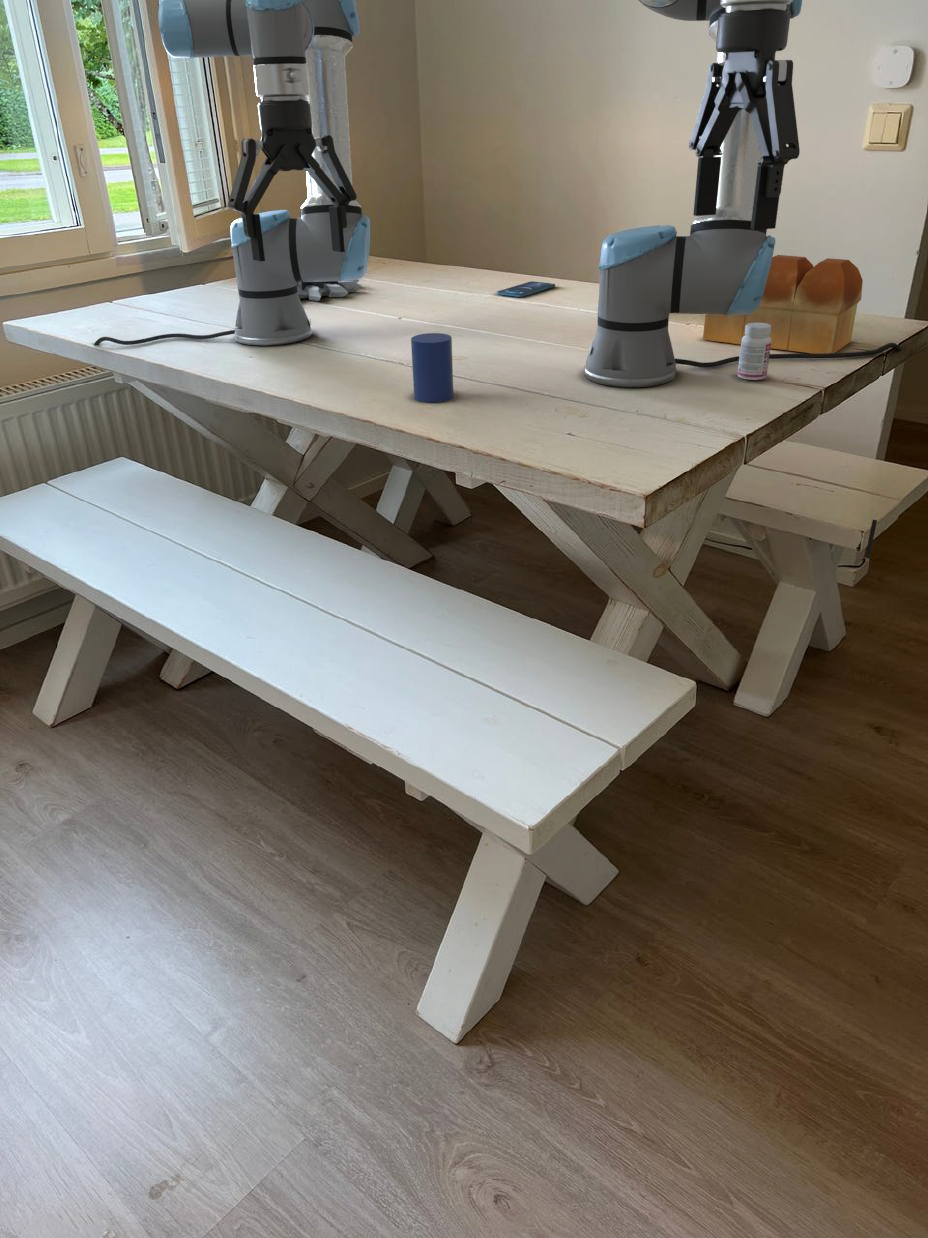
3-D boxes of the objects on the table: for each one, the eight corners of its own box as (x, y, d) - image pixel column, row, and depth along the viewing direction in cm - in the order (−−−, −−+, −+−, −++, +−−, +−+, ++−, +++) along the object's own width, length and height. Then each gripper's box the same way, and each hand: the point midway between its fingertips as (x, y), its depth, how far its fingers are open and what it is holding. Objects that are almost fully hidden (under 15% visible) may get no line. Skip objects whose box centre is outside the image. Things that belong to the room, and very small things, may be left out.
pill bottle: (768, 380, 155) (775, 328, 150) (738, 380, 155) (744, 328, 151) (765, 372, 159) (772, 321, 155) (736, 372, 160) (742, 321, 155)
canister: (416, 403, 150) (413, 343, 145) (412, 392, 155) (409, 334, 150) (455, 401, 150) (454, 341, 146) (450, 389, 156) (448, 331, 151)
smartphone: (494, 291, 222) (531, 280, 232) (494, 294, 222) (531, 283, 232) (521, 295, 218) (557, 283, 228) (521, 297, 218) (557, 286, 228)
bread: (700, 339, 180) (707, 257, 172) (725, 326, 188) (734, 247, 181) (832, 356, 167) (847, 268, 159) (853, 341, 175) (868, 257, 168)
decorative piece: (302, 291, 211) (212, 280, 226) (304, 309, 213) (214, 296, 228) (388, 270, 232) (300, 260, 247) (389, 286, 234) (302, 276, 249)
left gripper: (210, 100, 127) (233, 266, 137) (371, 96, 139) (381, 249, 149) (190, 101, 132) (214, 261, 143) (347, 97, 145) (358, 245, 155)
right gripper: (670, 16, 111) (657, 211, 122) (788, 0, 90) (759, 237, 101) (727, 15, 113) (709, 208, 123) (856, 0, 92) (821, 232, 102)
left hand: (299, 255), depth 146 cm, fingers open, 13 cm apart
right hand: (732, 221), depth 112 cm, fingers open, 13 cm apart
